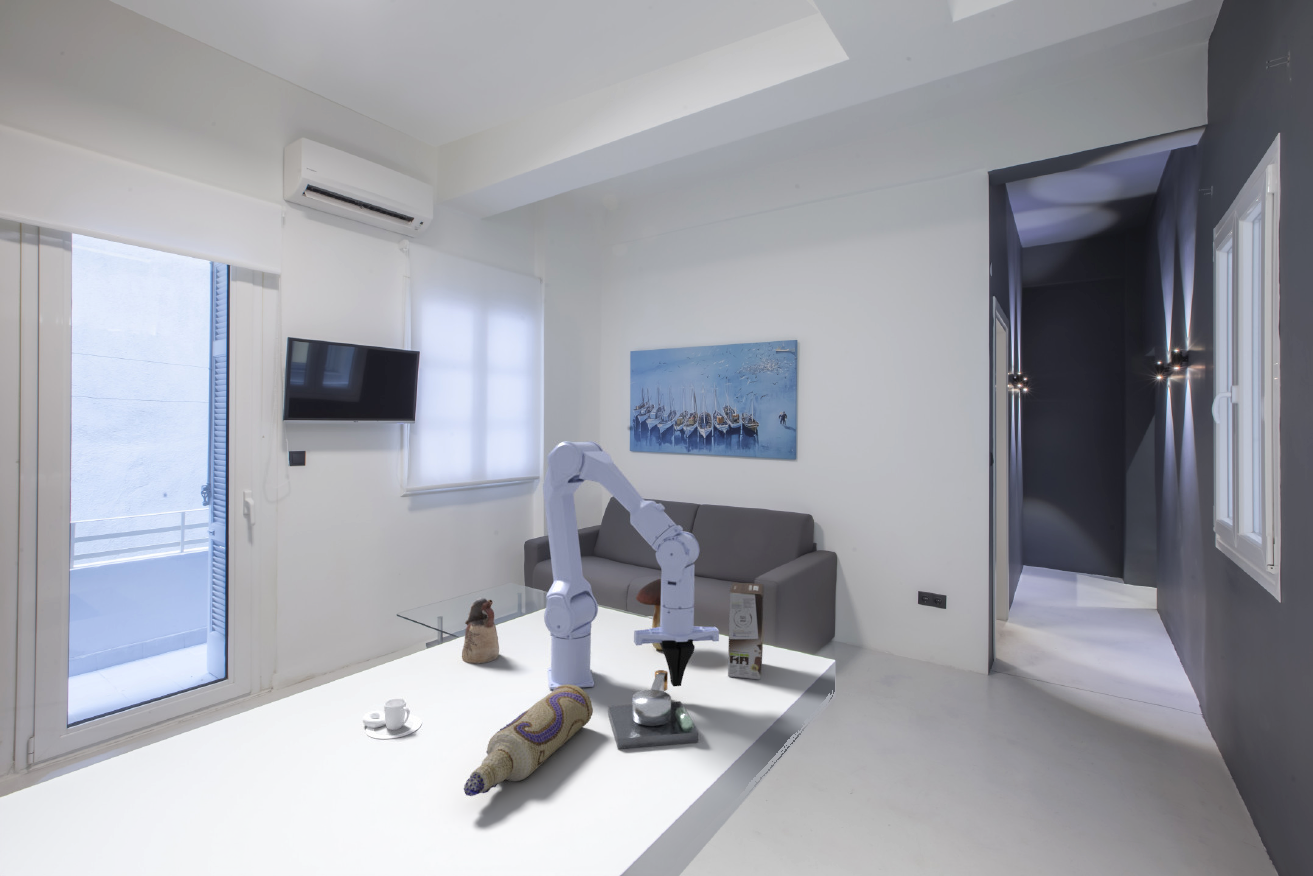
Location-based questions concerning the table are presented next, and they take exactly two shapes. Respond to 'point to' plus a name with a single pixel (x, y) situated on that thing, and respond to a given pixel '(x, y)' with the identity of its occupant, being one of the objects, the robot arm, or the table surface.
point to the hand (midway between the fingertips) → (675, 684)
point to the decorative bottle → (531, 738)
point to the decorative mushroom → (652, 602)
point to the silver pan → (653, 702)
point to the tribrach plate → (651, 728)
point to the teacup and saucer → (390, 719)
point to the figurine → (480, 634)
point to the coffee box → (745, 630)
